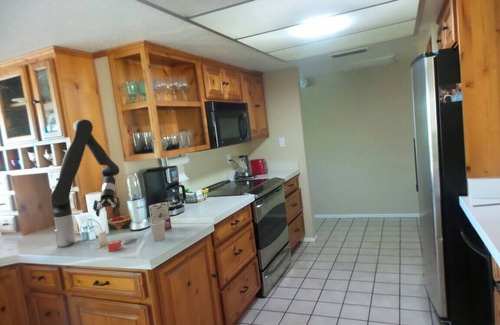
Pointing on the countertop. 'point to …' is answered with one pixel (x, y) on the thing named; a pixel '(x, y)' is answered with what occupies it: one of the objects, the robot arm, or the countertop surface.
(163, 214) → the candy bar box
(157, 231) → the dixie cup
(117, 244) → the red die
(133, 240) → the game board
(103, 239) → the pawn
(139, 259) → the countertop surface
